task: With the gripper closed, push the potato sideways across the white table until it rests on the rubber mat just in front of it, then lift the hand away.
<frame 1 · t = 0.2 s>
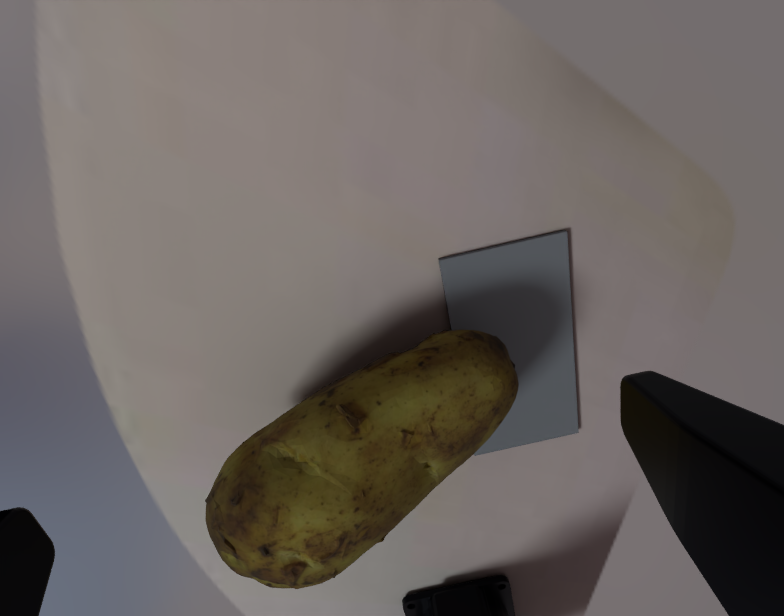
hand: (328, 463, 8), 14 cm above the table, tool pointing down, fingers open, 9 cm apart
mat: (514, 353, 25), on the table
potato: (368, 393, 25), on the table, touching mat
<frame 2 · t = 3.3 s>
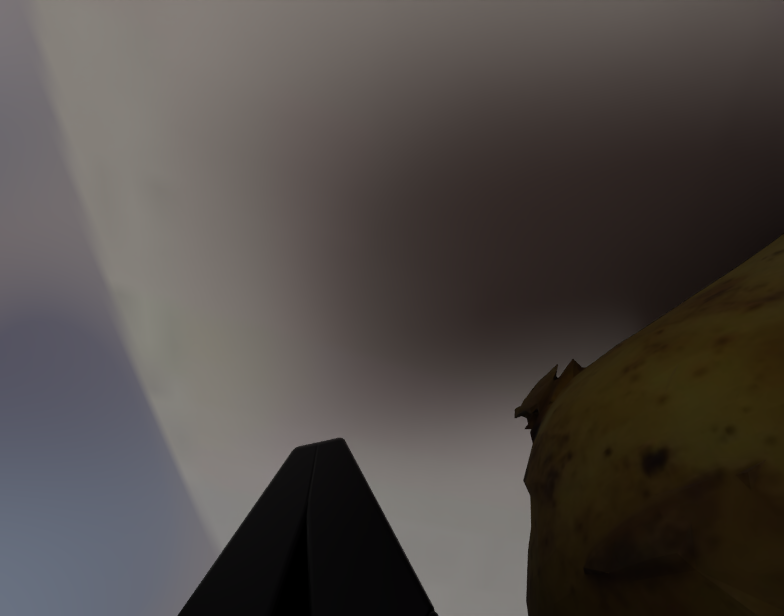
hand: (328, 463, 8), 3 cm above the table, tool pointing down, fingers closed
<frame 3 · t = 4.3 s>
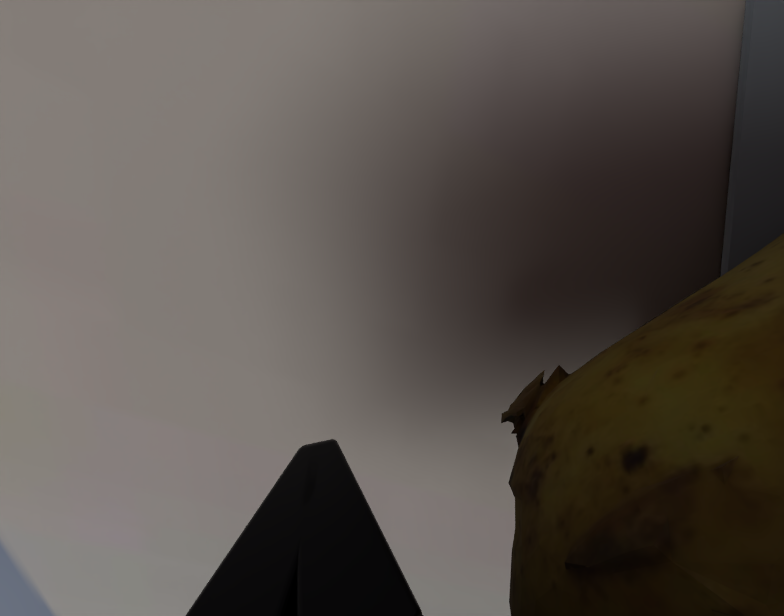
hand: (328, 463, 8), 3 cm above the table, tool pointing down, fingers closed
potato: (767, 285, 10), on the table, touching gripper
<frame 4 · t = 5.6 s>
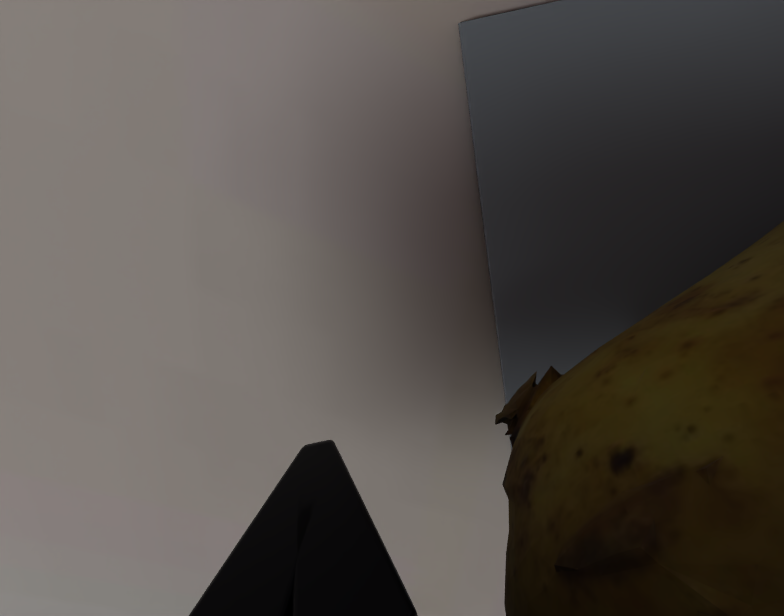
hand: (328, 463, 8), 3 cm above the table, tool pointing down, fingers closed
mat: (632, 305, 10), on the table
potato: (762, 280, 10), on the table, touching gripper, mat
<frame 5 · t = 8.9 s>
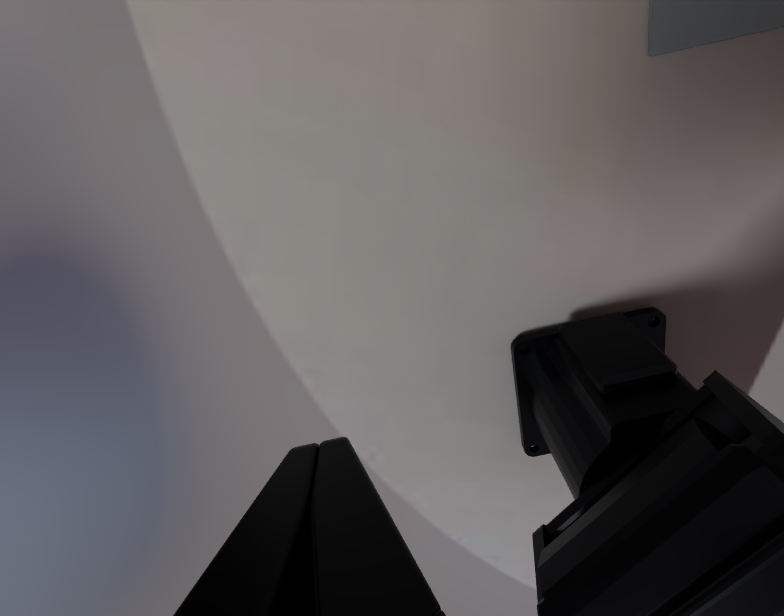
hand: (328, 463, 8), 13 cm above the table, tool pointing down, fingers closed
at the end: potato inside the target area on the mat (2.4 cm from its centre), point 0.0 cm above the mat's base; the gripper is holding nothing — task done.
